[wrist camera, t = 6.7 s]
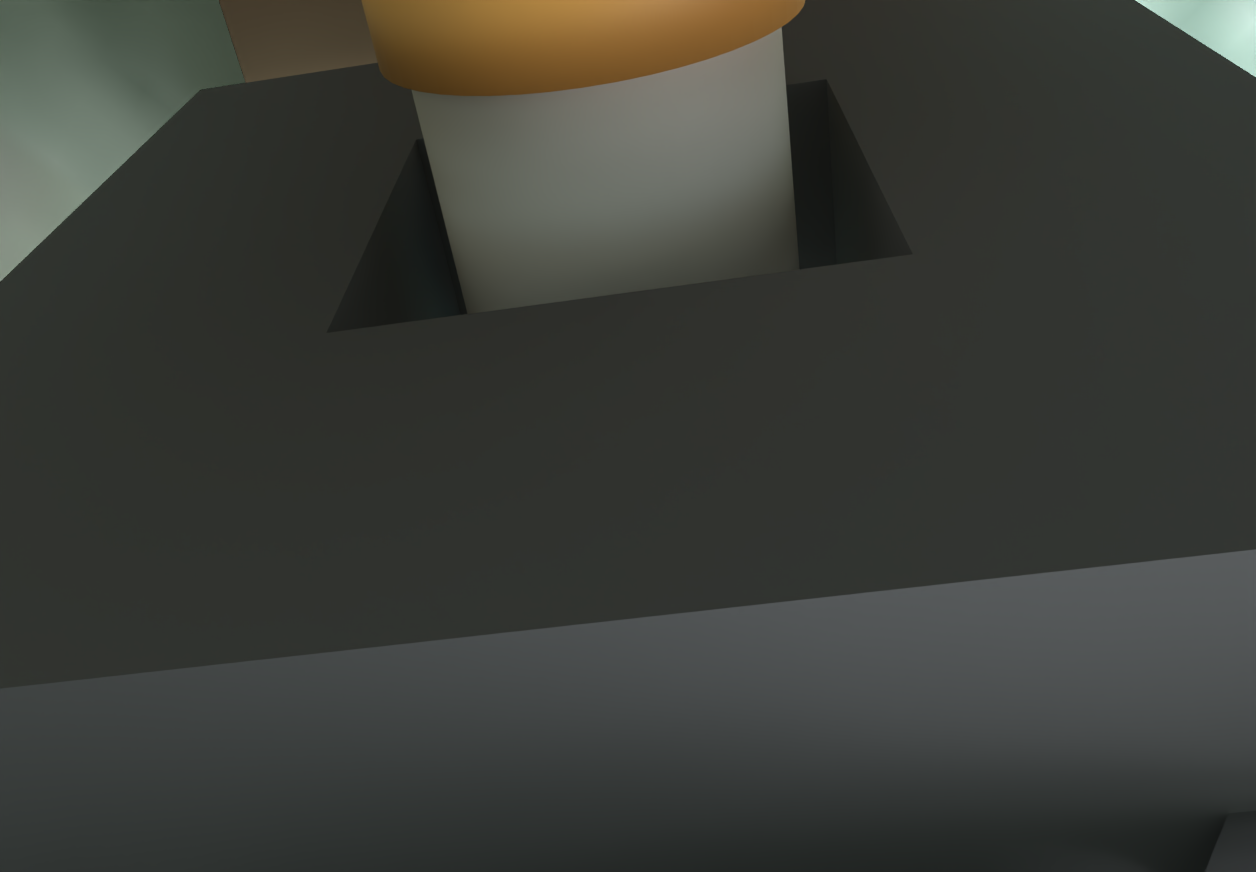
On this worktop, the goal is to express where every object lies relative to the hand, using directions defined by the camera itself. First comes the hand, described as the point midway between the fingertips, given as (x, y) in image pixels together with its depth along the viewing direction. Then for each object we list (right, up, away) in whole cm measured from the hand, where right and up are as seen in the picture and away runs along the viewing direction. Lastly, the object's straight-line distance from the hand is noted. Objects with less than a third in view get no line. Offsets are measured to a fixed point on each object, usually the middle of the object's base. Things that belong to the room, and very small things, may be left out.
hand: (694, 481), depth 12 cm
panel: (-1, +5, +3) cm, 6 cm away
